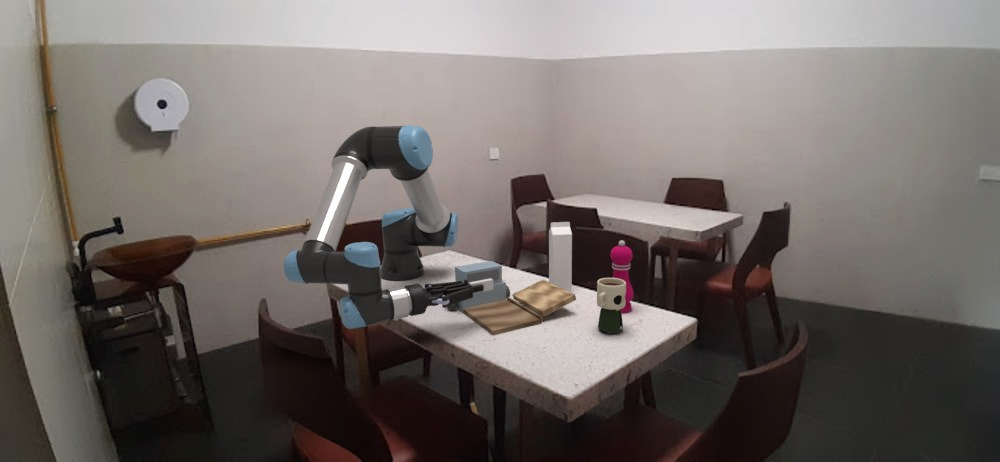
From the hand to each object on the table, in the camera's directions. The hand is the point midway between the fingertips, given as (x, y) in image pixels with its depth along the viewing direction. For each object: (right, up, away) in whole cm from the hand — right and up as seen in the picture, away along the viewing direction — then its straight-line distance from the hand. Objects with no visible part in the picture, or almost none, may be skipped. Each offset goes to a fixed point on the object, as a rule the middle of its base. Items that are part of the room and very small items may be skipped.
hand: (491, 283), depth 136 cm
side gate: (+9, -7, +7) cm, 14 cm away
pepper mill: (+36, -8, +9) cm, 38 cm away
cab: (-4, -8, +16) cm, 18 cm away
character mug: (+30, -12, -5) cm, 33 cm away
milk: (+21, -5, +26) cm, 34 cm away
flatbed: (+2, -10, +5) cm, 11 cm away
